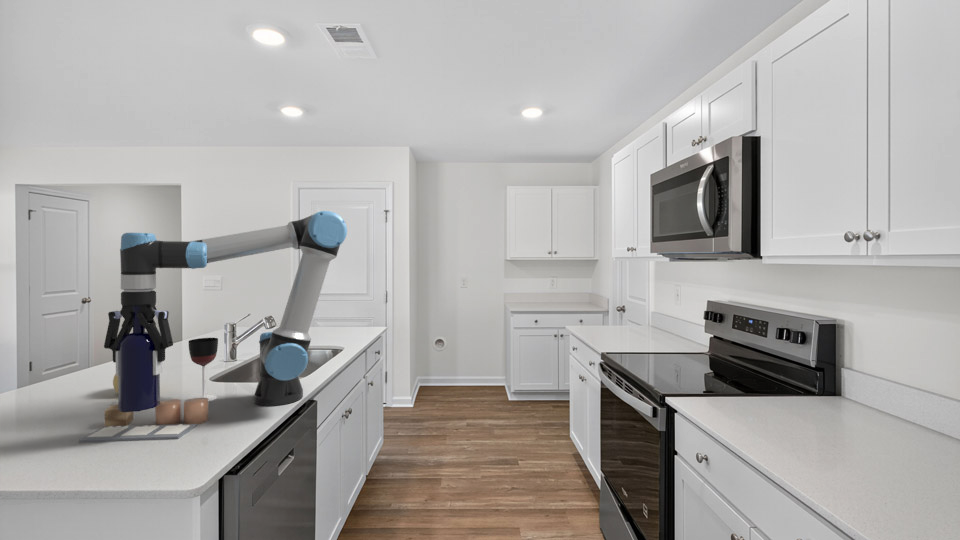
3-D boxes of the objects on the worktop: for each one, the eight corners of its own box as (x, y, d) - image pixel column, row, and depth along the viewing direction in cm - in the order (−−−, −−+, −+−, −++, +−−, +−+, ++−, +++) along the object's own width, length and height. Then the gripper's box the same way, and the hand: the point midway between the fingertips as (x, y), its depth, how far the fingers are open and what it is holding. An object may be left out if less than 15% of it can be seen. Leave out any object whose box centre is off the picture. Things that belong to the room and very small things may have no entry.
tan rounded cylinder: (212, 417, 133) (212, 397, 133) (202, 424, 127) (202, 403, 127) (190, 417, 132) (190, 397, 132) (179, 425, 126) (179, 404, 126)
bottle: (138, 413, 114) (137, 297, 113) (108, 411, 116) (107, 296, 115) (168, 402, 123) (168, 295, 123) (140, 400, 125) (140, 294, 124)
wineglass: (183, 401, 147) (182, 341, 146) (207, 393, 155) (207, 337, 154) (199, 404, 144) (199, 343, 143) (224, 396, 152) (223, 338, 151)
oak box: (133, 420, 130) (133, 403, 130) (126, 426, 125) (126, 408, 125) (112, 422, 128) (112, 405, 128) (104, 428, 123) (104, 410, 123)
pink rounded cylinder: (184, 418, 131) (184, 398, 131) (175, 425, 125) (174, 405, 125) (162, 420, 130) (161, 399, 130) (151, 427, 124) (150, 406, 124)
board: (196, 425, 126) (196, 423, 126) (178, 438, 117) (178, 435, 117) (104, 428, 123) (104, 425, 123) (79, 442, 114) (79, 439, 114)
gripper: (188, 289, 124) (188, 369, 124) (106, 289, 121) (106, 371, 122) (173, 291, 116) (173, 377, 117) (84, 291, 114) (85, 378, 114)
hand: (139, 373), depth 119 cm, fingers closed on bottle, 8 cm apart
